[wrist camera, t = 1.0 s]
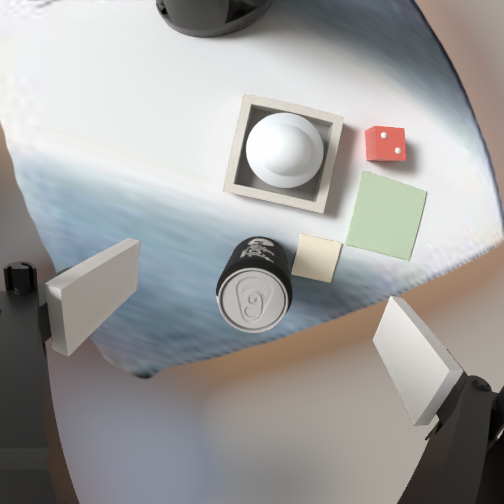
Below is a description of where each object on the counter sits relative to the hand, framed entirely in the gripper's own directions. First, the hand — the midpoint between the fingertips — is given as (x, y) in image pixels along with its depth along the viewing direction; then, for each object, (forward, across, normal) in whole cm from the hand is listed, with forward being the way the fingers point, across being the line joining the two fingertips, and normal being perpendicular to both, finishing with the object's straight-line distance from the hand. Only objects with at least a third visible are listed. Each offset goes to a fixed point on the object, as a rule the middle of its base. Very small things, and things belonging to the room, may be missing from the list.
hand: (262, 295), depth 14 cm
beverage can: (+21, 0, -5) cm, 21 cm away
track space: (+21, +6, -3) cm, 22 cm away
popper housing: (+21, 0, +8) cm, 23 cm away
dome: (+19, 0, +8) cm, 21 cm away
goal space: (+21, +14, +4) cm, 25 cm away
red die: (+21, +11, +12) cm, 27 cm away
